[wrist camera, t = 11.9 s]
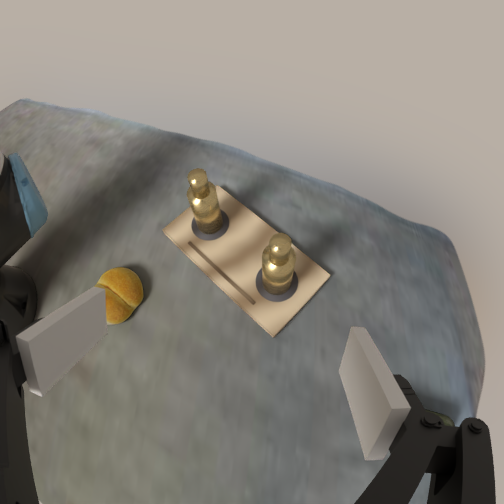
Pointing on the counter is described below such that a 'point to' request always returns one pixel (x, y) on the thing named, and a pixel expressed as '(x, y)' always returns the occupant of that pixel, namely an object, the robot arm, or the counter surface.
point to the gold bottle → (204, 202)
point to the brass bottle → (278, 264)
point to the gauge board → (245, 262)
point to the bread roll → (120, 293)
